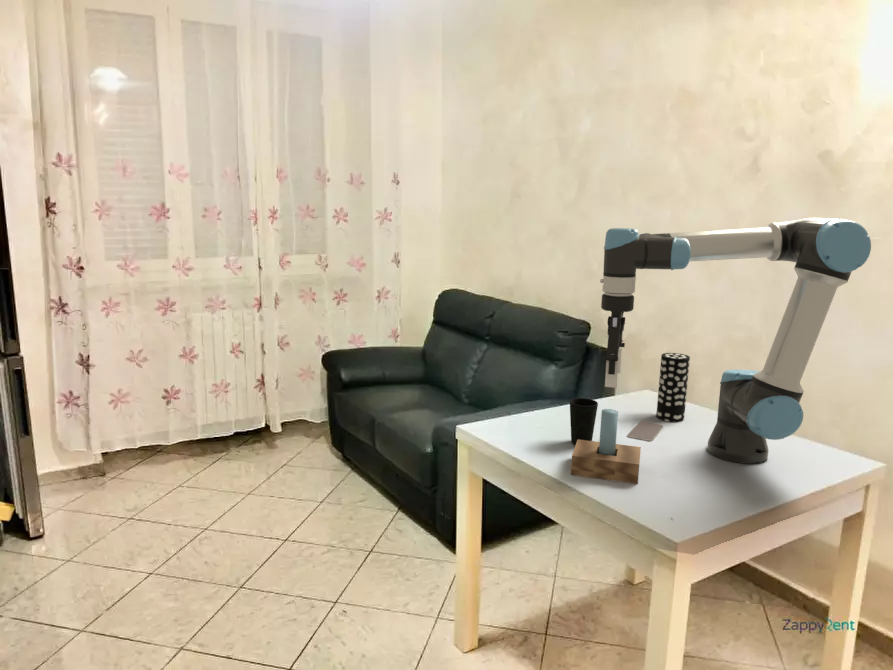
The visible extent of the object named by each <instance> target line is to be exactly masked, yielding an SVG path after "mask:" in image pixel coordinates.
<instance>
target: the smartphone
mask: <svg viewBox="0 0 893 670" xmlns="http://www.w3.org/2000/svg"><path fill="white" fill-rule="evenodd" d="M663 430H664V424H661V423H660V424H659V423H656V422H650V421H644V420H640V421H638V422H637V424H636V425H635V426H634V427H632V429H631V430H630V431H629V432H628V433H627V437H626V438H630V439H636V440H640V441H645V442H653V441H654V440H656V438H657V436H658V435H659V434H660V433H661V432H662V431H663Z"/></svg>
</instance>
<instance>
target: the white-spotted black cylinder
mask: <svg viewBox="0 0 893 670" xmlns="http://www.w3.org/2000/svg"><path fill="white" fill-rule="evenodd" d="M690 360H691V357H690V356H689V355H687V354H684V353H676V352H663V353H661V358H660V367H659V368H660V369H659V381H658V393H657V402H656V416H655V417H656V418H657V419H659V420H661V421H664V422H667V423H668V422H669V423H681V422H683V421H685V415H686V413H685V411H686V404H687V403H686V402H687V401H686V400H687V393H688V383H689V372H690Z"/></svg>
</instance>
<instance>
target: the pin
mask: <svg viewBox="0 0 893 670" xmlns="http://www.w3.org/2000/svg"><path fill="white" fill-rule="evenodd" d="M618 418H619V411H618V410H616V409H612V408H604V409H602V410H601V416H600V428H599V429H600V431H599V441H598V442H599V454H603V455H611V456H615V448H616V444H617V433H618V432H617V431H618V423H619V422H618V420H619V419H618Z"/></svg>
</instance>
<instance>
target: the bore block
mask: <svg viewBox="0 0 893 670" xmlns="http://www.w3.org/2000/svg"><path fill="white" fill-rule="evenodd" d="M599 442H600V441H595V440H592V441H587V440H579V439H578V440H577V443H576V445H574V449H573V451H572V455H571V464H570V467H571V468H570V475H571V476H577V477H584V478H585V477H586V478H590V479H591V478H593V479H598V480H608V481H613V482H620V483H626V484H627V483H629V484H635V485H638V484H639V472H640V461H641V451H642V450H641V446H637V445H636V446H635V445H626V444H618V443H616V448H615V456H611V455H603V454H599Z"/></svg>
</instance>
